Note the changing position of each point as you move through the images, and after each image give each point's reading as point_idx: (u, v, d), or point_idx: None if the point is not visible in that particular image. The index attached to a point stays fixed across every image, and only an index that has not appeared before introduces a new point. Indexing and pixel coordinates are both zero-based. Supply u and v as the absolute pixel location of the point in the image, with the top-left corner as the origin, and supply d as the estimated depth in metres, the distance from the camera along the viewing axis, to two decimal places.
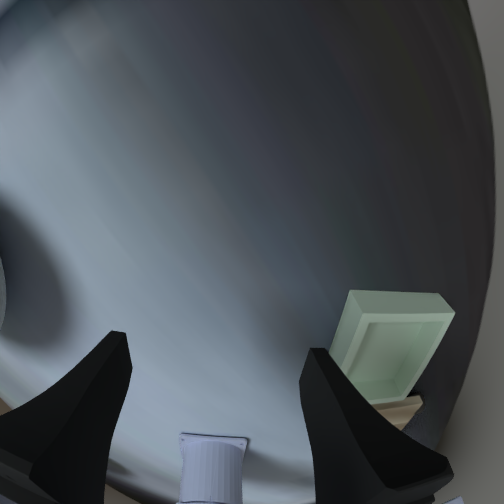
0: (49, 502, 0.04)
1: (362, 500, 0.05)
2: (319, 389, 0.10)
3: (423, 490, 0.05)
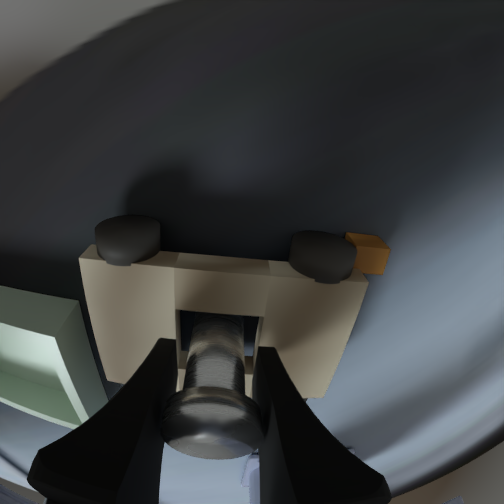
0: None
1: None
2: (262, 389, 0.09)
3: None
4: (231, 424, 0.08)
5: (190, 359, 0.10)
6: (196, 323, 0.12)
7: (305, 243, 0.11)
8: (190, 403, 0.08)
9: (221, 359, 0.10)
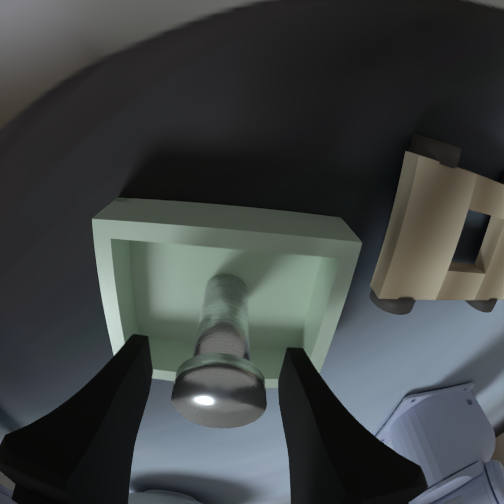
0: None
1: None
2: (294, 390, 0.09)
3: (393, 500, 0.05)
4: (238, 388, 0.09)
5: (200, 333, 0.12)
6: (205, 302, 0.14)
7: None
8: (202, 367, 0.09)
9: (229, 332, 0.11)
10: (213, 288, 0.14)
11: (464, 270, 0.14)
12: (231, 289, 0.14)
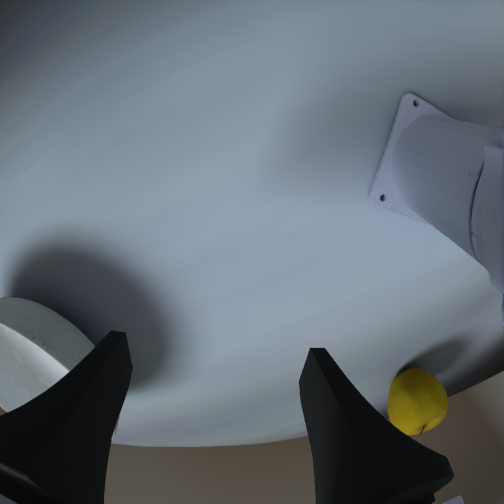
0: (49, 502, 0.04)
1: (362, 500, 0.05)
2: (319, 389, 0.10)
3: (423, 490, 0.05)
4: None
5: None
6: None
7: None
8: None
9: None
10: None
11: None
12: None
